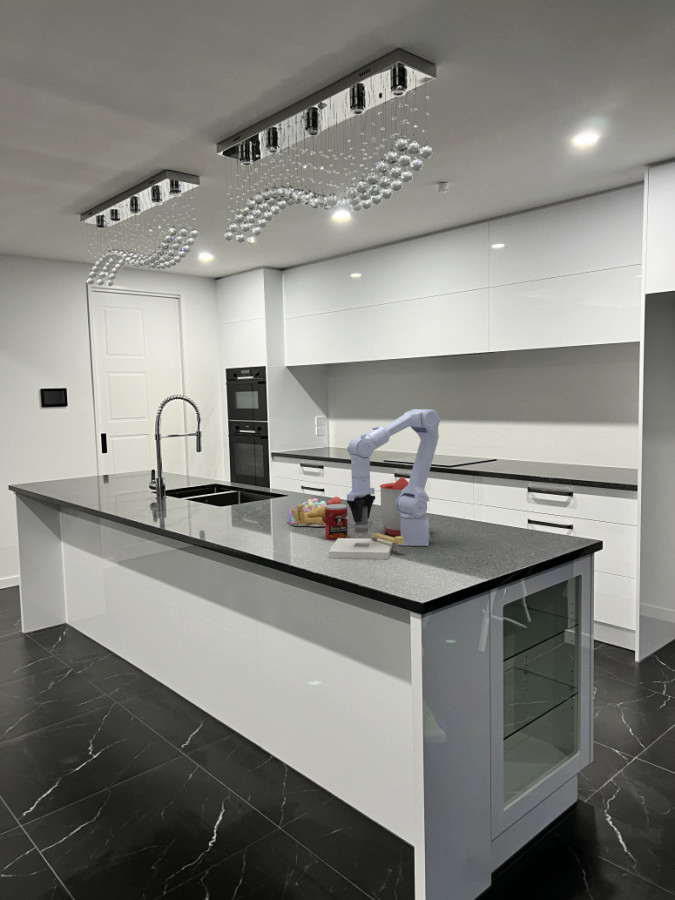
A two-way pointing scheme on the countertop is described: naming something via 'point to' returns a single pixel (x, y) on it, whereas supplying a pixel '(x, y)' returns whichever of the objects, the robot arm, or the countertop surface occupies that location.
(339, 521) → the canned food
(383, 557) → the socket board
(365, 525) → the plug
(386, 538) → the clip
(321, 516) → the candy landscape model
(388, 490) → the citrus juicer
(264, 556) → the countertop surface
